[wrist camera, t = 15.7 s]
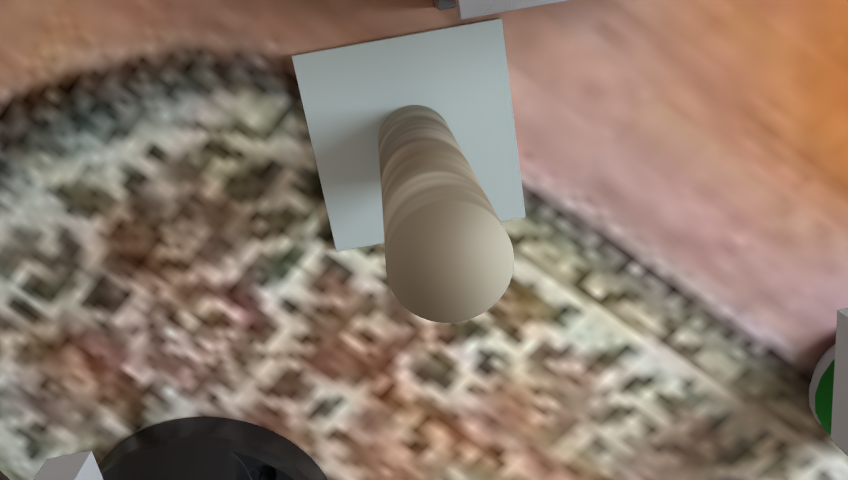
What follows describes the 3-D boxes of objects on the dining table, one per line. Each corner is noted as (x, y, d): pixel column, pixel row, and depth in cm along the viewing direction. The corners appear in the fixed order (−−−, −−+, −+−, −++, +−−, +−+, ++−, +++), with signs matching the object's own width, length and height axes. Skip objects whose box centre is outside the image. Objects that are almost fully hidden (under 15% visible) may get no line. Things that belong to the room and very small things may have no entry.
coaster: (336, 247, 37) (336, 251, 36) (292, 54, 33) (291, 56, 33) (523, 213, 37) (525, 217, 36) (499, 17, 33) (501, 18, 33)
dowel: (385, 182, 35) (398, 332, 20) (372, 111, 34) (375, 217, 19) (456, 169, 35) (520, 310, 20) (445, 98, 34) (506, 192, 19)
